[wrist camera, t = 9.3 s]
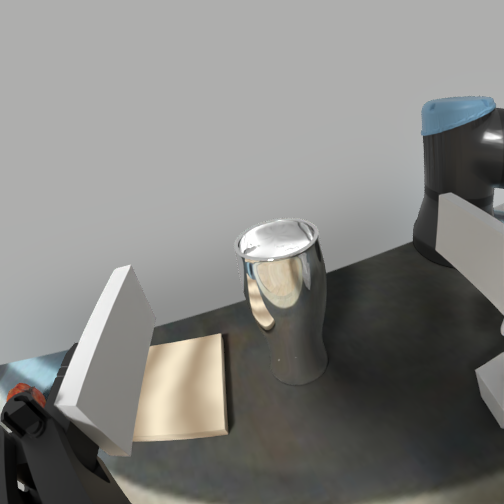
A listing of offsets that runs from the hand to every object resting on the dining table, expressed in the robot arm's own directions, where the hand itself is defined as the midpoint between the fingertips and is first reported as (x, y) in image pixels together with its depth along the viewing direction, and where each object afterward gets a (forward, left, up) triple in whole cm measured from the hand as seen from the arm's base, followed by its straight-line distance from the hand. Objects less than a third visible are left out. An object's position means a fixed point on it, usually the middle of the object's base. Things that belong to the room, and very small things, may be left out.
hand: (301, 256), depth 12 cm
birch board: (+17, -10, -19) cm, 28 cm away
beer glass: (0, -11, -19) cm, 22 cm away
